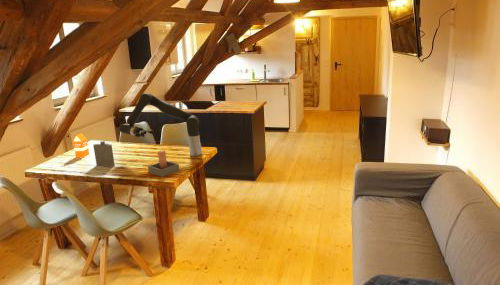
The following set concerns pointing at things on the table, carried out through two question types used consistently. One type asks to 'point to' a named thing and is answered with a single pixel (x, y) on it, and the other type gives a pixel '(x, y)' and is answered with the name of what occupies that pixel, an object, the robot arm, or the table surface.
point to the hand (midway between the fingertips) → (148, 134)
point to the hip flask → (104, 154)
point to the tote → (157, 171)
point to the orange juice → (80, 146)
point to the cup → (162, 159)
